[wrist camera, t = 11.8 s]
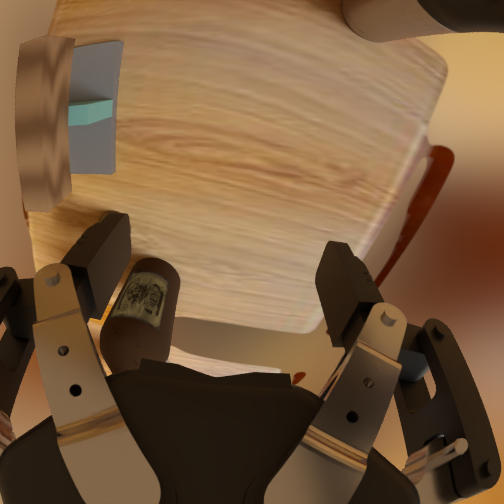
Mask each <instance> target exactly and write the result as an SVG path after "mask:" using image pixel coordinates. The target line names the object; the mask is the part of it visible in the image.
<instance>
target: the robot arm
mask: <svg viewBox="0 0 504 504" xmlns="http://www.w3.org/2000/svg"><path fill="white" fill-rule="evenodd" d="M342 12H343V16H344V18H345V20H346V22H347V24H348V25H349V26H350V28H351V29H352V30H353V31H354V32H355V33H357V34H358V35H359V36H361V37H362V38H364V39H367V40H369V41H372V42H381V43H382V42H387V41H393V40H399V39H406V38H412V37H420V36H428V35H437V34H448V33H465V32H499V33H504V0H343V2H342ZM130 256H131V237H130V222H129V216H128V214H126V213H116V212H109V213H108V214H107V216H106V217H105V218H104V219H103V220H102V221H101V223H96V224H94V225H93V226H91V227H89V228H88V229H87V230H86V231H85V232H84V233H83V234H82V236H81V238H79V239H78V240H77V242H76V244H74V245H73V247H72V248H71V249H70V250H69V252H68V253H67V254H66V256H65V257H64V258H63V259H62V261H61V262H60V263H53V264H49V265H47V266H45V267H43V268H41V269H40V270H39V271H38V272H37V273H36V275H35V277H34V278H30V279H18V277H17V274H16V272H15V270H14V269H13V268H12V267H2V268H0V324H1V323H2V321H3V322H4V324H5V326H6V328H7V329H6V331H5V332H4V335H3V337H2V338H1V341H0V493H1V497H2V500H3V504H453V503H456V502H459V501H461V500H464V499H467V498H469V497H472V496H474V495H476V494H479V493H481V492H483V491H485V490H488V489H490V488H492V487H493V486H494V485H495V484H496V483H497V481H498V479H499V477H500V473H501V461H500V457H499V453H498V449H497V446H496V442H495V438H494V435H493V432H492V428H491V425H490V422H489V419H488V416H487V413H486V411H485V408H484V405H483V402H482V399H481V397H480V394H479V392H478V389H477V387H476V384H475V382H474V379H473V377H472V375H471V372H470V370H469V368H468V366H467V363H466V361H465V359H464V357H463V355H462V352H461V350H460V348H459V346H458V344H457V342H456V340H455V338H454V336H453V334H452V332H451V330H450V329H449V328H448V327H447V325H445V324H444V323H443V322H441V321H440V320H437V319H432V318H431V319H428V320H427V321H426V322H425V324H424V325H423V326H422V328H421V327H418V326H415V325H411V324H408V323H407V322H406V318H405V316H404V315H403V313H402V312H401V311H400V310H399V309H398V308H396V307H395V306H393V305H391V304H388V303H385V302H384V300H383V298H382V296H381V294H380V292H379V290H378V288H377V286H376V284H375V282H373V279H372V277H371V275H369V271H368V269H367V267H366V266H365V264H364V263H363V262H362V261H361V260H360V259H359V258H358V257H357V256H354V255H353V253H352V251H351V249H350V247H349V245H348V244H347V243H343V242H336V241H329V242H328V243H327V244H326V247H325V250H324V252H323V255H322V258H321V261H320V263H319V266H318V269H317V272H316V277H315V284H316V288H317V292H318V295H319V299H320V302H321V306H322V309H323V313H324V316H325V320H326V323H327V327H328V331H329V334H330V338H331V342H332V345H333V347H344V348H345V353H344V354H343V356H342V357H341V359H340V361H339V362H338V364H337V366H336V367H335V369H334V371H333V373H332V374H331V376H330V378H329V379H328V381H327V383H326V384H325V386H324V387H323V389H322V390H321V392H320V393H319V395H318V396H317V395H315V394H314V393H312V392H310V391H308V390H306V389H304V388H302V387H299V386H296V385H293V384H291V379H290V374H284V373H261V372H252V373H245V374H239V375H231V376H224V377H213V376H209V375H206V374H203V373H201V372H198V371H195V370H192V369H189V368H187V367H184V366H181V365H179V364H174V363H167V362H161V361H156V360H150V359H145V358H142V359H141V363H140V367H139V368H134V369H127V370H123V371H119V372H116V373H113V374H111V375H109V376H107V374H106V372H105V370H104V368H103V365H102V363H101V360H100V358H99V355H98V353H97V350H96V347H95V345H94V342H93V339H92V336H91V334H90V331H89V328H88V325H87V323H88V321H89V319H90V318H94V319H98V320H101V318H102V316H103V314H104V311H105V309H106V307H107V305H108V303H109V301H110V299H111V296H112V294H113V292H114V290H115V288H116V286H117V284H118V282H119V280H120V278H121V276H122V274H123V272H124V270H125V268H126V266H127V265H128V263H129V260H130ZM35 347H36V353H37V358H38V363H39V367H40V373H41V377H42V381H43V385H44V389H45V393H46V396H47V400H48V404H49V407H50V411H51V414H52V415H51V416H49V417H48V418H46V419H45V420H43V421H42V422H41V423H39V424H38V425H36V426H35V427H33V428H32V429H30V430H29V431H28V432H26V433H25V434H23V435H22V436H20V437H19V438H17V439H16V438H15V434H14V433H13V432H12V424H11V421H10V415H11V412H12V409H13V405H14V402H15V399H16V396H17V393H18V390H19V387H20V384H21V381H22V379H23V376H24V373H25V371H26V368H27V365H28V363H29V361H30V358H31V356H32V353H33V351H34V349H35ZM429 369H430V370H431V373H432V376H433V379H434V381H435V384H436V393H435V396H434V397H433V398H432V399H431V398H430V395H429V391H428V388H427V386H426V383H425V380H424V377H423V376H424V375H425V374H426V373H427V372H428V370H429ZM393 394H394V398H395V402H396V405H397V409H398V413H399V417H400V421H401V426H402V430H403V435H404V439H405V444H406V449H407V454H408V459H407V461H406V465H405V468H404V469H402V471H399V470H398V469H397V468H396V467H395V466H394V465H393V464H391V463H390V462H389V461H388V460H387V459H386V458H385V457H383V456H382V455H381V454H380V453H379V452H378V451H377V450H376V449H375V448H374V447H372V445H373V443H374V441H375V439H376V436H377V434H378V432H379V429H380V427H381V424H382V422H383V420H384V417H385V414H386V412H387V409H388V407H389V404H390V401H391V398H392V395H393Z"/></svg>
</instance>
